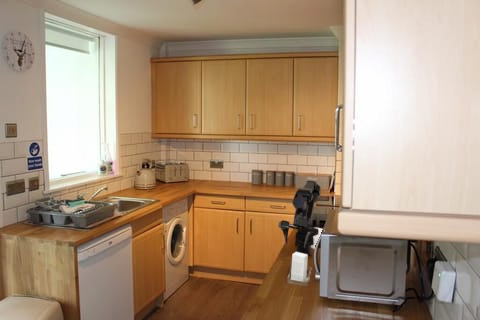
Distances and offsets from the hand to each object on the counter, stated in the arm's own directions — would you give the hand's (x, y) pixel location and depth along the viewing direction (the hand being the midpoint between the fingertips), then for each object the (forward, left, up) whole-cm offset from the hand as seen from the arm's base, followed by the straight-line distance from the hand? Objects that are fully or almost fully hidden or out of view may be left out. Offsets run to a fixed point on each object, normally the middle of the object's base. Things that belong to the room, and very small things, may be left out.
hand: (295, 245), depth 202 cm
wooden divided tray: (+2, +7, -12) cm, 14 cm away
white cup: (-32, -20, -12) cm, 39 cm away
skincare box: (+5, +10, -12) cm, 16 cm away
